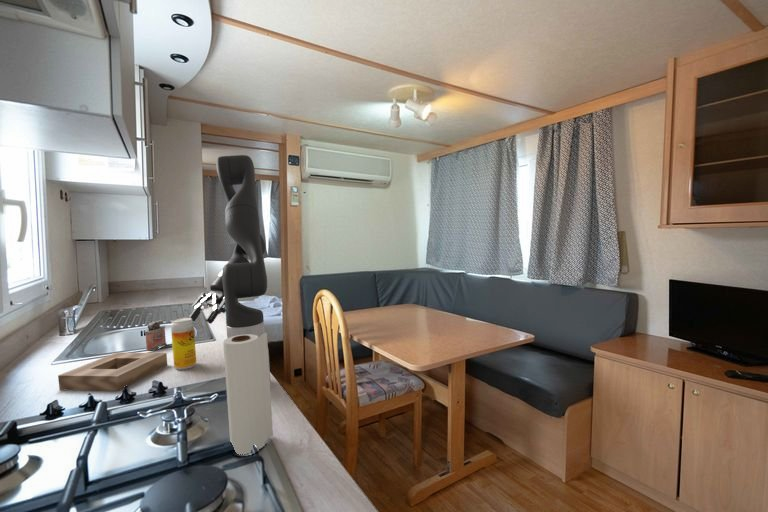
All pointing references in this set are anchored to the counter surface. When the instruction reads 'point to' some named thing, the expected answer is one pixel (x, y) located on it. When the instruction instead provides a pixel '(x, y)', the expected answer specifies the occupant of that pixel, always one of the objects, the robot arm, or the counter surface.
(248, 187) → the robot arm
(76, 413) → the counter surface
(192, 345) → the yellow cylinder
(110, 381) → the socket block
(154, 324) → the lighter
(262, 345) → the paper towel roll
